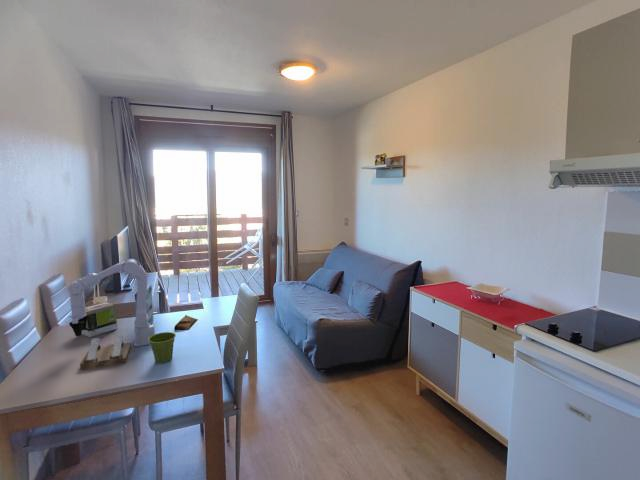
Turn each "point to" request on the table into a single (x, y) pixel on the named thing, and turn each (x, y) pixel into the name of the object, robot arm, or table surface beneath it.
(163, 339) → the plant pot
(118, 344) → the bar
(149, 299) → the gum box
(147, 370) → the table surface
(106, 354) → the wooden wall rack
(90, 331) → the tea box
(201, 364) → the table surface
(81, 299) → the robot arm
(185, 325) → the sunglasses case
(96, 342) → the latch
